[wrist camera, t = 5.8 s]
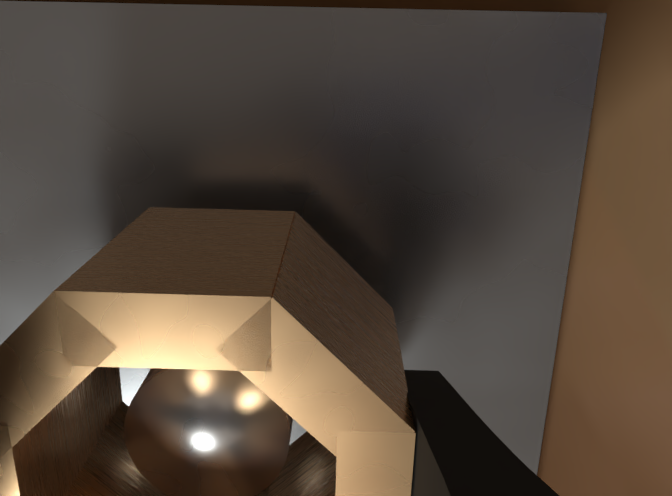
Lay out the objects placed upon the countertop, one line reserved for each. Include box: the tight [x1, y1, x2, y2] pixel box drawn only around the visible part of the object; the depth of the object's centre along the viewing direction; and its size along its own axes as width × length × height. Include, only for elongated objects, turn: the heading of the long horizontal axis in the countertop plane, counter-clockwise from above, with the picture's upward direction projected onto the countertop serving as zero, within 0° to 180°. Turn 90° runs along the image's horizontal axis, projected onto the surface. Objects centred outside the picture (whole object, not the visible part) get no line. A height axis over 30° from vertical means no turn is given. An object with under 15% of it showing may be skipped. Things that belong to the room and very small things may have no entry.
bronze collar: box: [0, 207, 416, 496], centre depth 9 cm, size 6×6×3 cm
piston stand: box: [0, 1, 607, 496], centre depth 11 cm, size 12×12×4 cm
